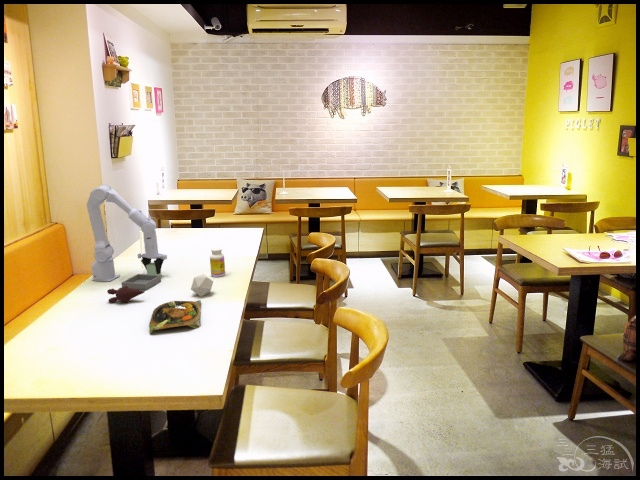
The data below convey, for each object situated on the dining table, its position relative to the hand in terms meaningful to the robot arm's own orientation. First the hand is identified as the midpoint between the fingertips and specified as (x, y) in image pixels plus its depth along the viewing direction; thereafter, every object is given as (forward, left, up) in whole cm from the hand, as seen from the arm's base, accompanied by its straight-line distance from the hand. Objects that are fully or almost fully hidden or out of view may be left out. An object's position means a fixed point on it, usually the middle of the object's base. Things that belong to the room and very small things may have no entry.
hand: (154, 273), depth 235 cm
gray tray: (+2, -13, -1) cm, 13 cm away
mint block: (0, 0, -1) cm, 1 cm away
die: (+35, -18, -2) cm, 39 cm away
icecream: (+8, -32, -2) cm, 33 cm away
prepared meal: (+37, -43, -2) cm, 56 cm away
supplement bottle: (+30, +7, -2) cm, 31 cm away
